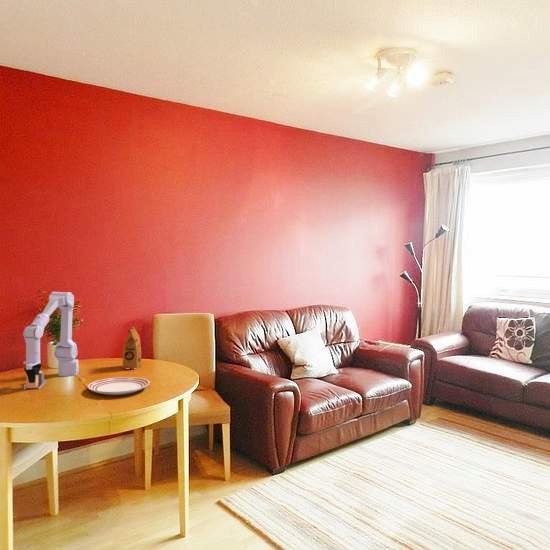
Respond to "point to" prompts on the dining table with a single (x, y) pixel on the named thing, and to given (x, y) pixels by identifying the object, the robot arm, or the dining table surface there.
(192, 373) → the dining table surface
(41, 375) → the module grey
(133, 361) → the coffee package
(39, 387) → the rail
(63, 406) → the dining table surface
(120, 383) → the dinner plate
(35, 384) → the block
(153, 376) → the dining table surface
